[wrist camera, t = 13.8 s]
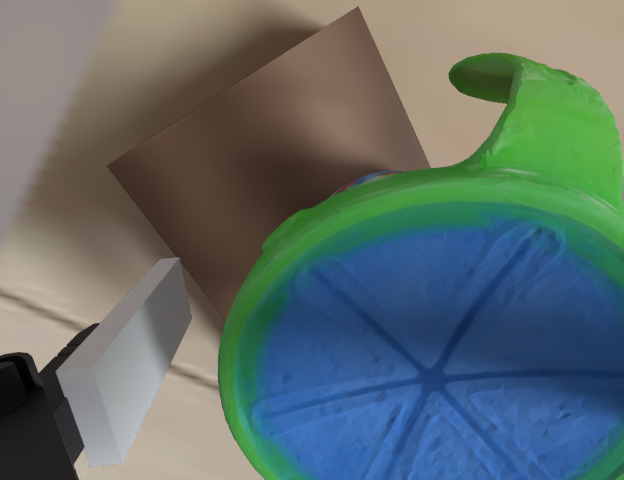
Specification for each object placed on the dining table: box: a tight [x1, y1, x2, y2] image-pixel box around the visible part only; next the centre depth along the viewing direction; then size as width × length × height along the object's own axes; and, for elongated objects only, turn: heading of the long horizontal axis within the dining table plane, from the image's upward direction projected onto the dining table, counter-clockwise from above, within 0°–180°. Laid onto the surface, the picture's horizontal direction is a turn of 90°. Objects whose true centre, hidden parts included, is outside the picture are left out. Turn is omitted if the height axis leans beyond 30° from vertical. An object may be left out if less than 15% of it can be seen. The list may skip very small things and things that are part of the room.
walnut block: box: [107, 7, 431, 320], centre depth 20 cm, size 13×17×5 cm
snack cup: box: [218, 53, 624, 480], centre depth 13 cm, size 16×10×10 cm
